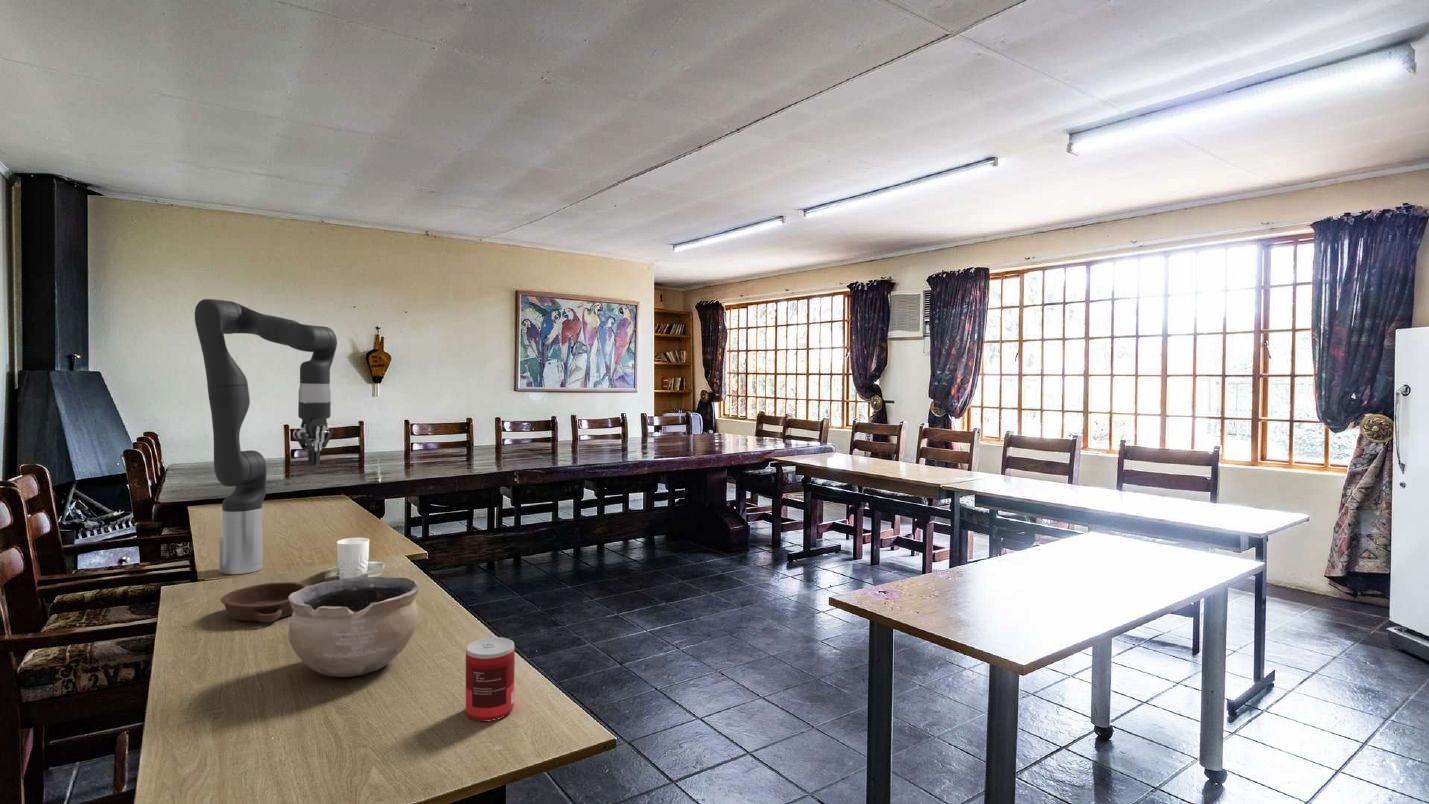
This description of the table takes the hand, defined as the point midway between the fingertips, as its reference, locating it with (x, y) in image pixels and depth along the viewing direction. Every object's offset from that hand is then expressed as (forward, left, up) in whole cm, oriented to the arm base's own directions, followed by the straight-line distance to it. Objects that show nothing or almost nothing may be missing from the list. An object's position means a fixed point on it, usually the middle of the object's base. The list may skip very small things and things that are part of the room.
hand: (313, 465), depth 190 cm
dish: (+7, -27, -31) cm, 42 cm away
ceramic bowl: (+45, -54, -31) cm, 77 cm away
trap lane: (+9, -5, -31) cm, 32 cm away
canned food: (+77, -68, -31) cm, 107 cm away
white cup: (+10, +2, -31) cm, 32 cm away
